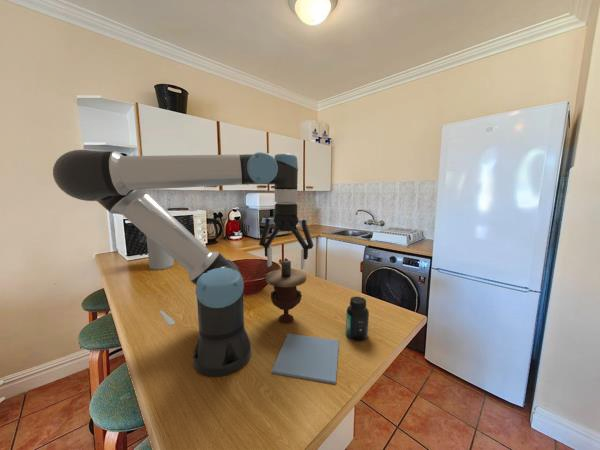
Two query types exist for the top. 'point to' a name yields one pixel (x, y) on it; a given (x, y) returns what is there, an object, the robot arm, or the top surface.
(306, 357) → the slate mat
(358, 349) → the top surface
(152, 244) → the cylinder vase
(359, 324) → the supplement bottle
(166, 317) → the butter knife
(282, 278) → the walnut lid
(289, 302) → the ice cream bowl
